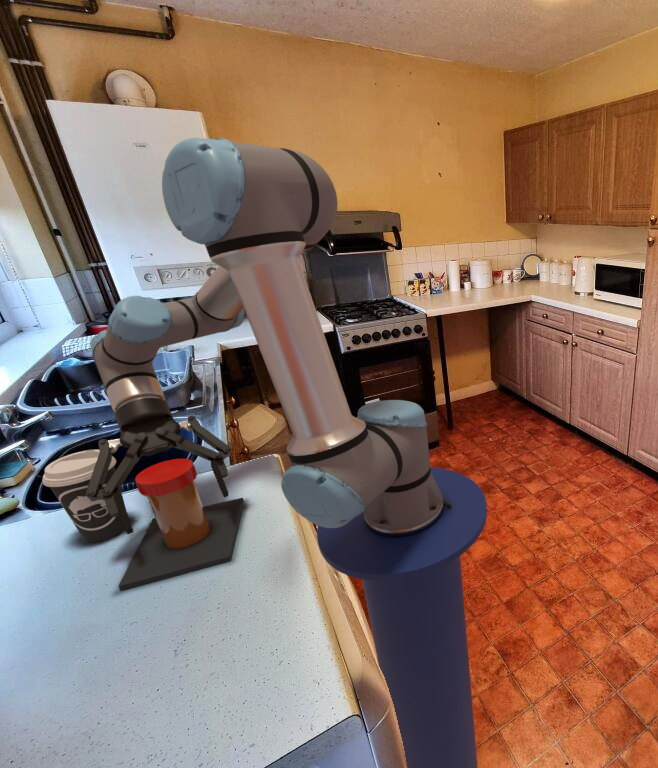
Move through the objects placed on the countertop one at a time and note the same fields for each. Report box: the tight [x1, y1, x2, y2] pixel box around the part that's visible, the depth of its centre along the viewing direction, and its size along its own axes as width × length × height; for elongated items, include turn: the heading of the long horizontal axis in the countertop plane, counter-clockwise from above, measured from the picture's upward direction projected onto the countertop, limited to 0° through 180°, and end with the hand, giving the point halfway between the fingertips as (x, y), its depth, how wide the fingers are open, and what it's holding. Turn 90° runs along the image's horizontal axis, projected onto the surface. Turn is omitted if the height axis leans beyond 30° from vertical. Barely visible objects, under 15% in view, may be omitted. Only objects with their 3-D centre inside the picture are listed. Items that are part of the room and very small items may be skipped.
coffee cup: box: [42, 448, 127, 543], centre depth 79 cm, size 10×10×15 cm
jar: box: [146, 480, 210, 549], centre depth 76 cm, size 7×7×13 cm
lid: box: [134, 458, 198, 497], centre depth 74 cm, size 8×8×2 cm
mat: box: [118, 497, 245, 592], centre depth 78 cm, size 15×18×1 cm
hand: (180, 512), depth 74 cm, fingers open, 13 cm apart
